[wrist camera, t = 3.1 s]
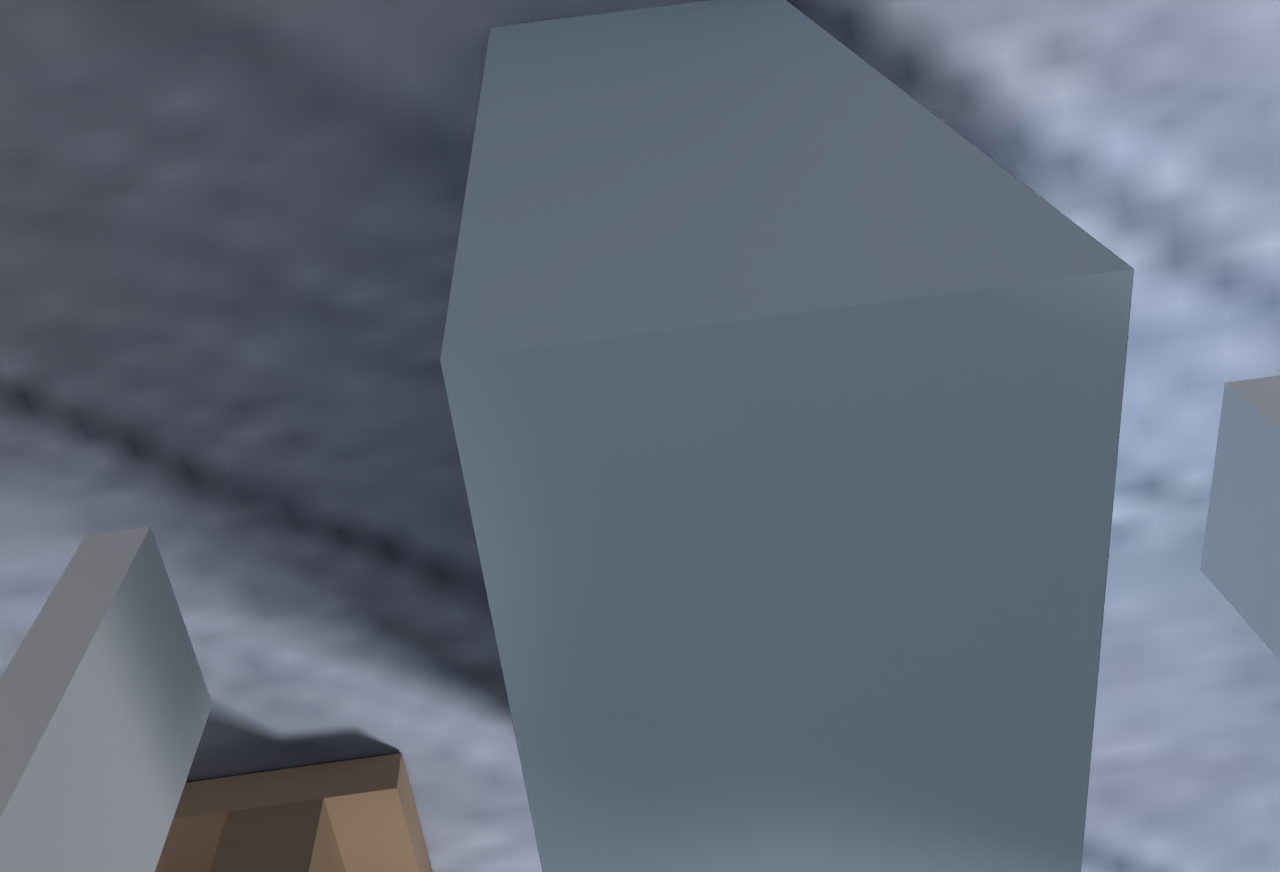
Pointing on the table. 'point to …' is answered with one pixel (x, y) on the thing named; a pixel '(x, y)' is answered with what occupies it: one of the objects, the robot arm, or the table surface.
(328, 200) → the table surface
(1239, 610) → the robot arm
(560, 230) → the door panel
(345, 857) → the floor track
